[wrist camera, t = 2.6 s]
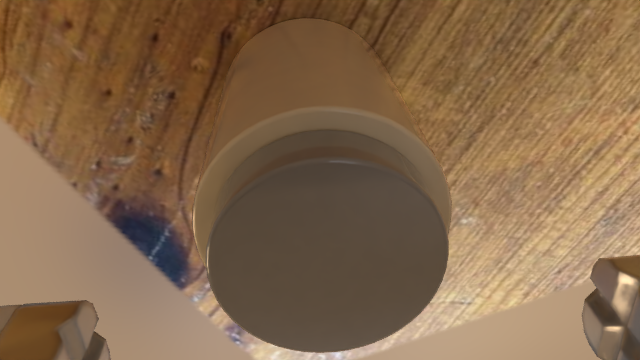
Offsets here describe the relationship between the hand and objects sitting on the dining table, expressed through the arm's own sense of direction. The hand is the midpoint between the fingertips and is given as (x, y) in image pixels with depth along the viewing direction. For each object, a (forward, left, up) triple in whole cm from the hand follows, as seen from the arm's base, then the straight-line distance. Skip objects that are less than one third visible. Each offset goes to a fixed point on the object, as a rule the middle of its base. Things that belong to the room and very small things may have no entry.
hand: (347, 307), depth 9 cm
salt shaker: (0, 0, -9) cm, 9 cm away
